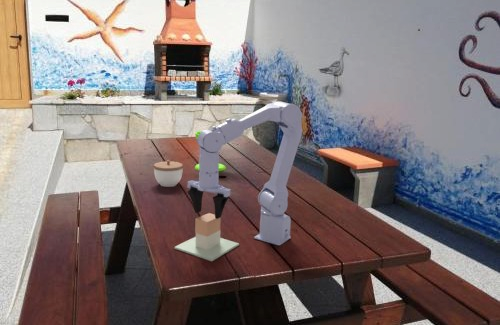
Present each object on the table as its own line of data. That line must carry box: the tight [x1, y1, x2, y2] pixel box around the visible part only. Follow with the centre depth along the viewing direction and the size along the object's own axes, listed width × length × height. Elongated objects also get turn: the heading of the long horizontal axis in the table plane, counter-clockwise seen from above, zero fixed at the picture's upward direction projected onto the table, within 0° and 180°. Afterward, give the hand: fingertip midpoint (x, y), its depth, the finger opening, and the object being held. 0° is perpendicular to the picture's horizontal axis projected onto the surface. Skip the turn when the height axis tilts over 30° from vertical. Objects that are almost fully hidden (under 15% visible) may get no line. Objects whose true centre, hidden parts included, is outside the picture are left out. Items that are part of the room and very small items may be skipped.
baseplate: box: [174, 236, 240, 262], centre depth 138 cm, size 14×14×1 cm
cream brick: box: [195, 229, 221, 250], centre depth 137 cm, size 4×6×4 cm
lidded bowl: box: [153, 159, 184, 188], centre depth 199 cm, size 13×13×11 cm
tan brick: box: [194, 212, 222, 236], centre depth 136 cm, size 4×6×4 cm
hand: (207, 214), depth 135 cm, fingers open, 7 cm apart
